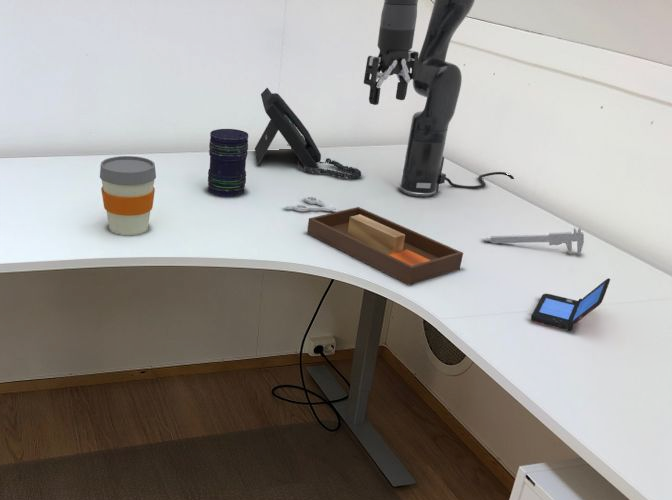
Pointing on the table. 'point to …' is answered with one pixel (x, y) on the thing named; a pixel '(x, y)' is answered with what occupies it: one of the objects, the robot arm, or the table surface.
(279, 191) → the table surface
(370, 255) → the tray
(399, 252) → the tan and orange bar
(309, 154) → the office phone
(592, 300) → the handheld console
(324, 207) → the scissors
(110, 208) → the reusable coffee cup
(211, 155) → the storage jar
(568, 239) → the caliper
